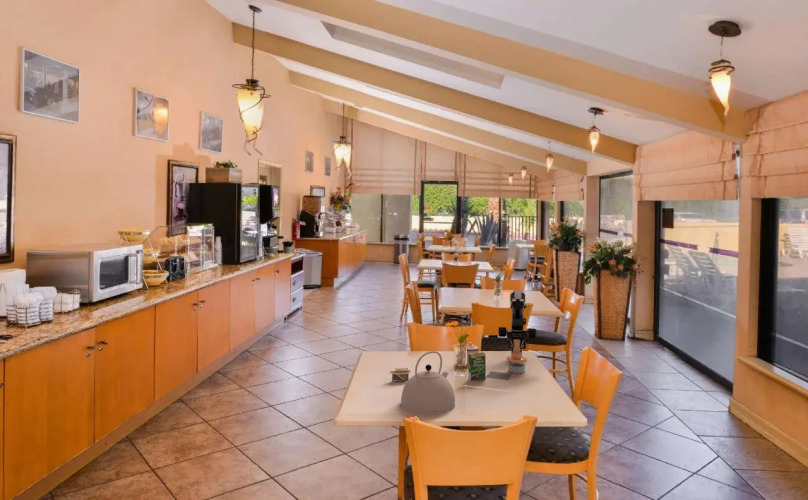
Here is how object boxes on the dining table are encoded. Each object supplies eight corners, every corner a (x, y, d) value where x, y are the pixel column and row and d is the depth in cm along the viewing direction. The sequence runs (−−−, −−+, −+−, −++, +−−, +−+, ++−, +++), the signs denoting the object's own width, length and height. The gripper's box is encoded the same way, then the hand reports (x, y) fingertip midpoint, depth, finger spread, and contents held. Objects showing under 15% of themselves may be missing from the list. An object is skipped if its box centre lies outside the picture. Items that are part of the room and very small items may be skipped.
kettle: (426, 391, 258) (427, 341, 257) (468, 402, 244) (469, 350, 242) (389, 405, 239) (390, 352, 238) (433, 418, 225) (433, 362, 223)
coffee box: (470, 382, 272) (470, 354, 271) (467, 380, 275) (468, 353, 274) (485, 380, 274) (486, 353, 273) (483, 378, 277) (483, 352, 276)
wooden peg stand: (506, 356, 294) (506, 337, 293) (526, 357, 292) (526, 337, 291) (506, 362, 284) (506, 341, 283) (527, 363, 282) (527, 342, 281)
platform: (422, 384, 269) (422, 371, 268) (384, 387, 265) (384, 373, 264) (416, 377, 280) (416, 364, 280) (379, 379, 276) (379, 366, 276)
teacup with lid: (480, 363, 305) (481, 341, 304) (475, 367, 296) (476, 345, 296) (459, 360, 310) (459, 339, 309) (453, 364, 301) (454, 342, 301)
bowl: (510, 369, 293) (510, 362, 293) (525, 371, 290) (525, 363, 290) (507, 373, 286) (507, 365, 286) (522, 375, 283) (523, 367, 283)
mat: (490, 372, 288) (490, 371, 288) (512, 375, 284) (512, 373, 284) (485, 378, 278) (485, 377, 278) (507, 381, 273) (507, 380, 273)
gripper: (498, 311, 291) (497, 337, 282) (536, 312, 288) (536, 339, 278) (499, 323, 300) (497, 349, 290) (535, 324, 296) (535, 351, 286)
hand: (516, 347), depth 286 cm, fingers closed on wooden peg stand, 3 cm apart
